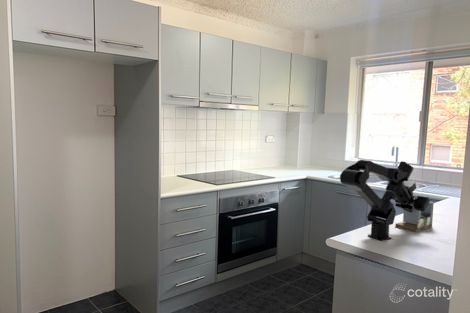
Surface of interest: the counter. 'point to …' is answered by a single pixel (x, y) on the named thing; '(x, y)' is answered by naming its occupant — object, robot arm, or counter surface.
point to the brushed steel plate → (428, 212)
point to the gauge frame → (413, 227)
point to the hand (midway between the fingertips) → (411, 211)
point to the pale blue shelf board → (412, 216)
